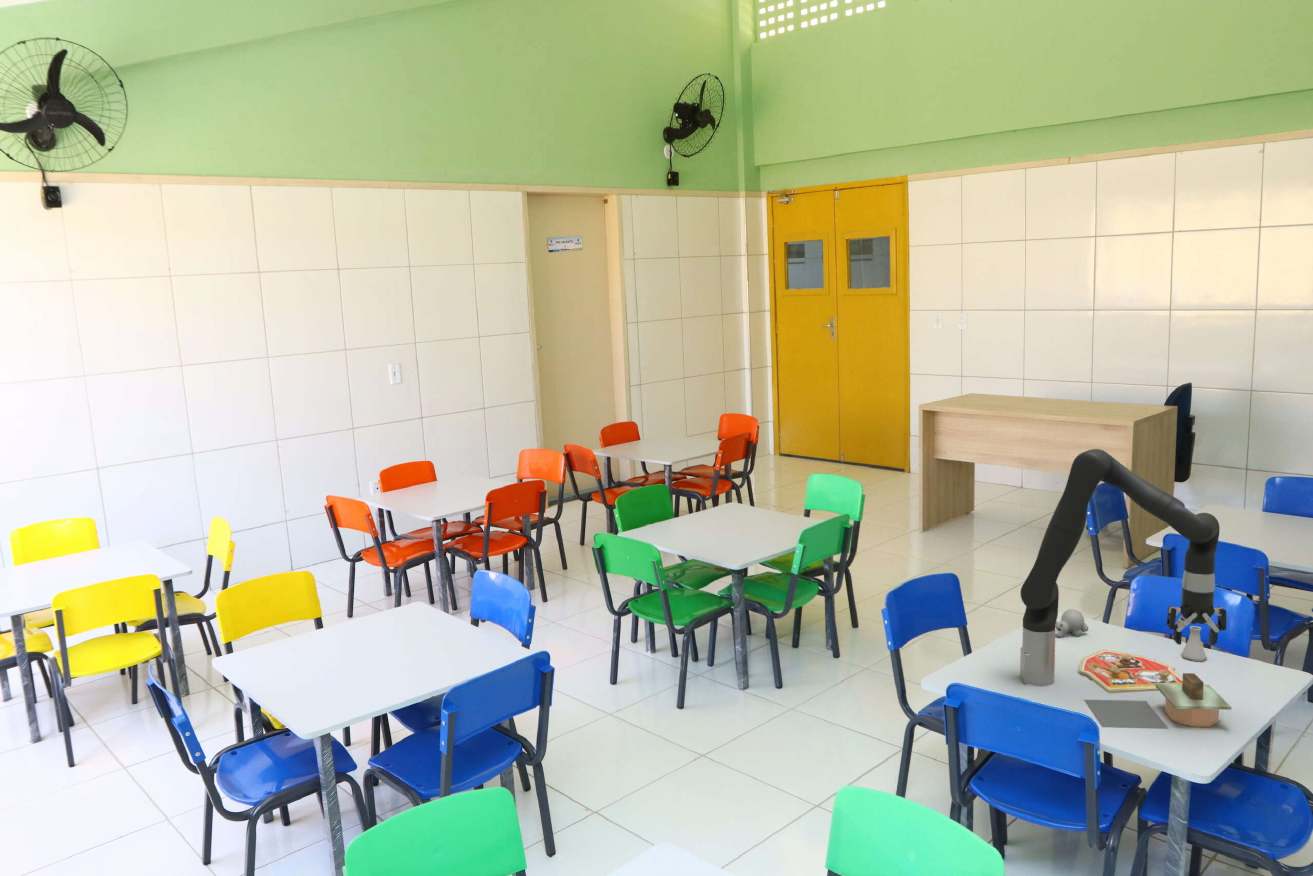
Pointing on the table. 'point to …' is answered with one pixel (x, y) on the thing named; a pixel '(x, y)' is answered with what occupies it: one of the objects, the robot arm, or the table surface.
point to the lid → (1192, 694)
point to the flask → (1194, 646)
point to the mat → (1125, 714)
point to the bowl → (1193, 716)
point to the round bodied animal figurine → (1071, 623)
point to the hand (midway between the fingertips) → (1195, 643)
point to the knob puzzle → (1127, 672)
